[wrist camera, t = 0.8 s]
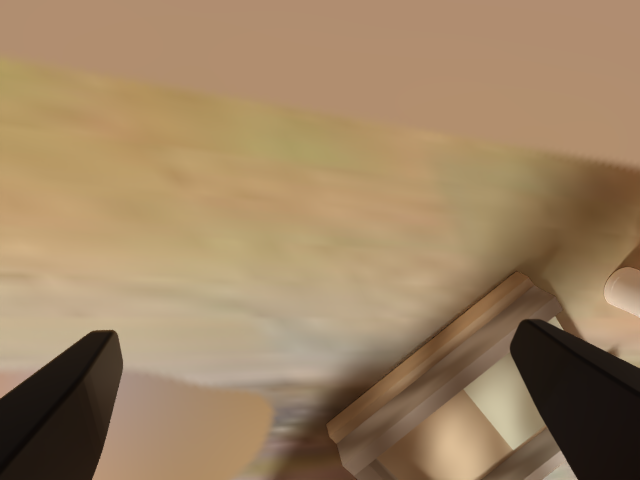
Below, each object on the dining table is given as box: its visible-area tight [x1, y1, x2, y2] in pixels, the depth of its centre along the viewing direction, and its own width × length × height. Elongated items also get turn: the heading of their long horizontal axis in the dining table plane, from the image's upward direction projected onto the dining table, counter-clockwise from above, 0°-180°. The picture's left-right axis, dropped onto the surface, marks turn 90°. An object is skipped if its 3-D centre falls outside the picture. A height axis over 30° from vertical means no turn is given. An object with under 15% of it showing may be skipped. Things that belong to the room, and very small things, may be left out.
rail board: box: [326, 271, 566, 480], centre depth 26 cm, size 17×14×3 cm
